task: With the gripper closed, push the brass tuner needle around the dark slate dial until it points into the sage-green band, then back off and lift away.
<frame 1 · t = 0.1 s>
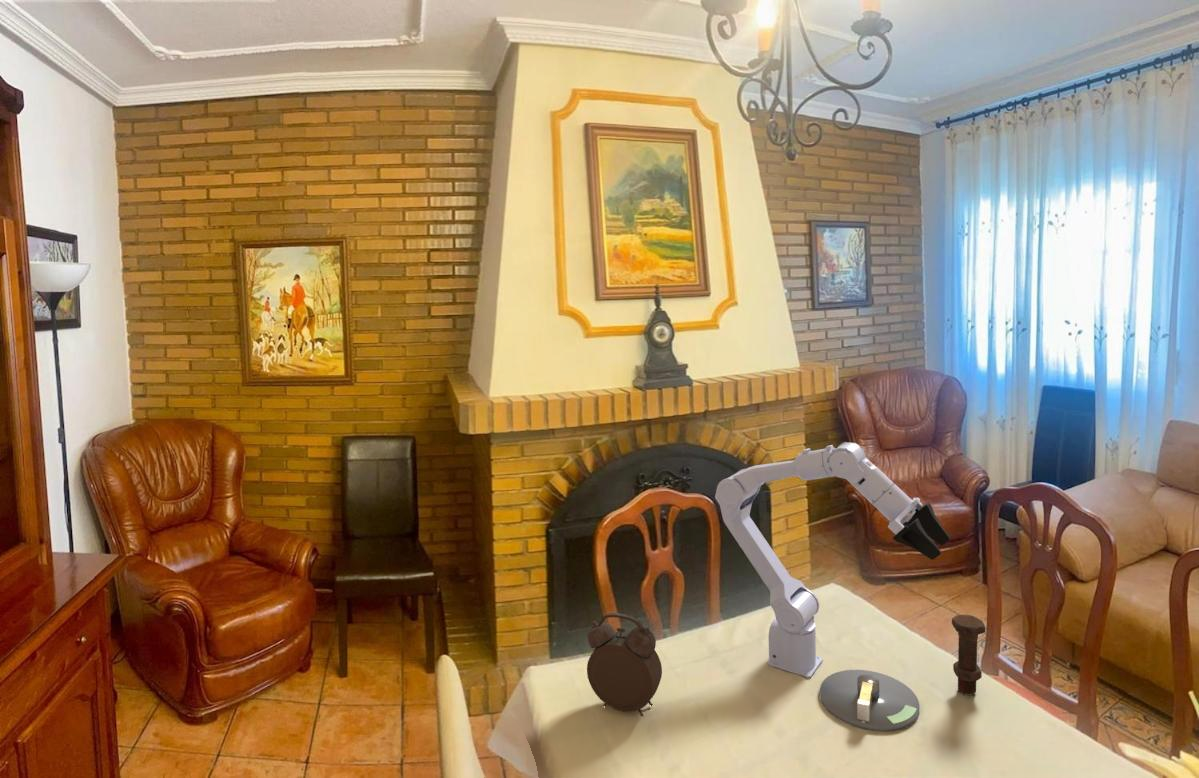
hand: (941, 549, 120), 32 cm above the table, tool tilted 50°, fingers open, 7 cm apart
alarm clock: (627, 707, 132), on the table
dial plate: (868, 700, 129), on the table
peg lever: (866, 696, 125), point 3 cm above the table, hinge at -80.0°
bolt: (966, 692, 130), on the table
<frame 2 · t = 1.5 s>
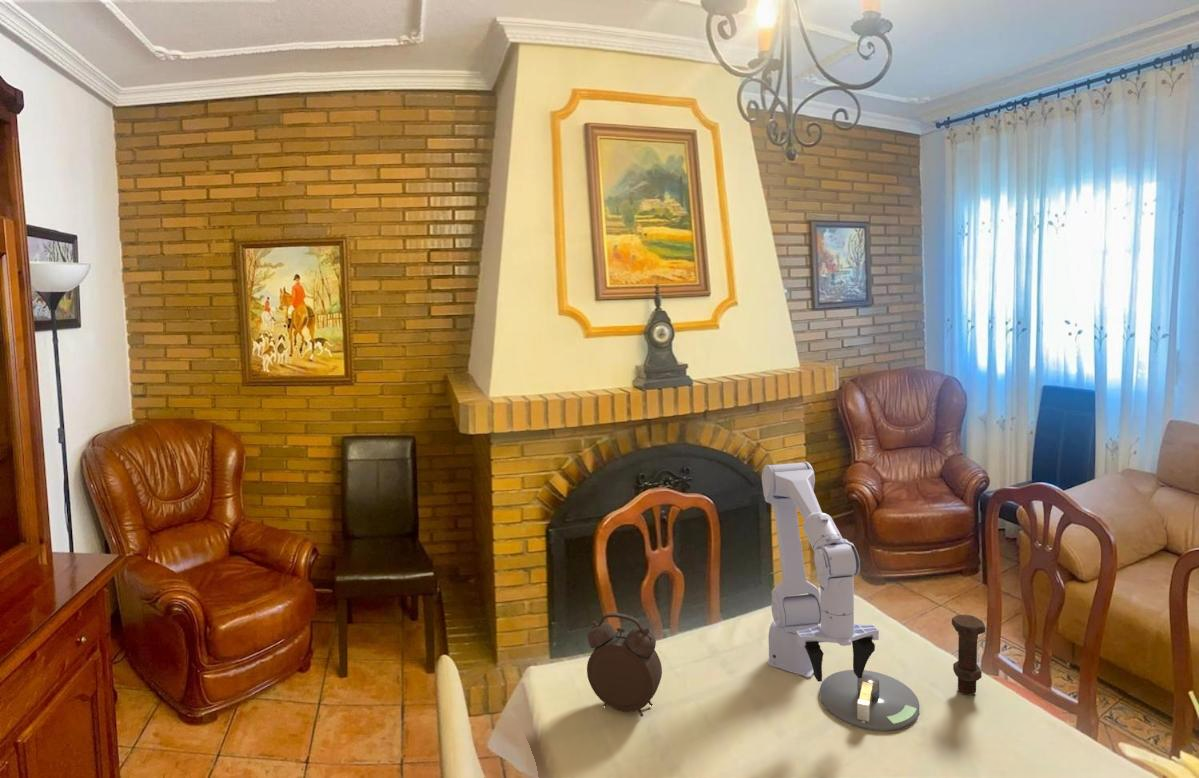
hand: (837, 676, 121), 9 cm above the table, tool pointing down, fingers open, 7 cm apart
nothing on the table moved.
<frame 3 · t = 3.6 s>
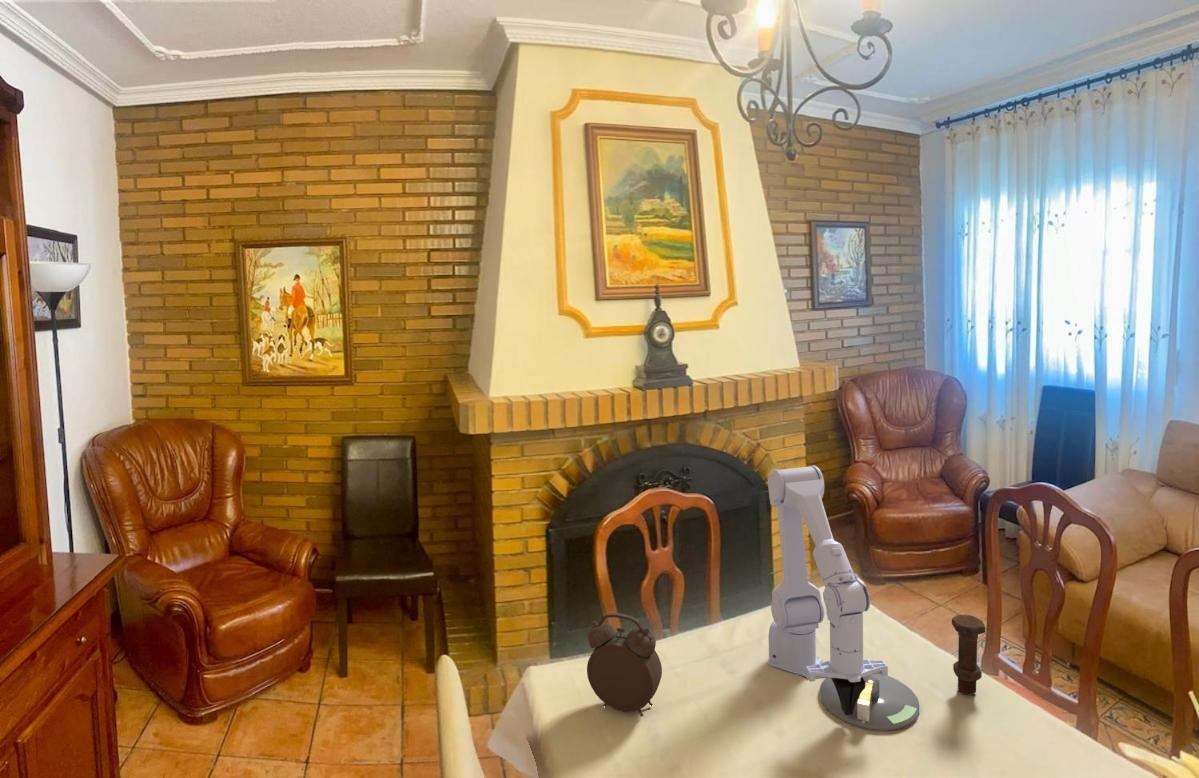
hand: (847, 711, 123), 2 cm above the table, tool pointing down, fingers closed
peg lever: (866, 696, 125), point 3 cm above the table, hinge at -80.0°, touching gripper
everything else where it was.
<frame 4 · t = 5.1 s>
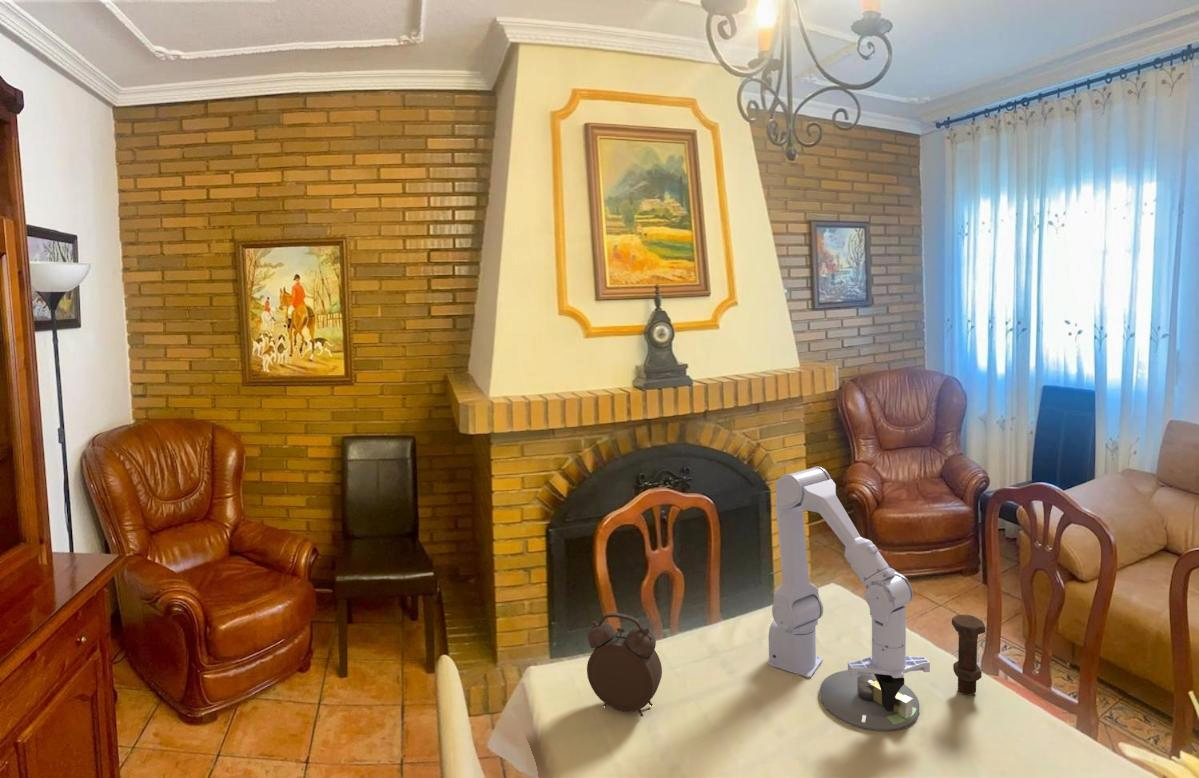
hand: (888, 708, 123), 2 cm above the table, tool pointing down, fingers closed, pressing on peg lever
peg lever: (883, 695, 125), point 3 cm above the table, hinge at -20.0°, touching gripper
everything else where it was.
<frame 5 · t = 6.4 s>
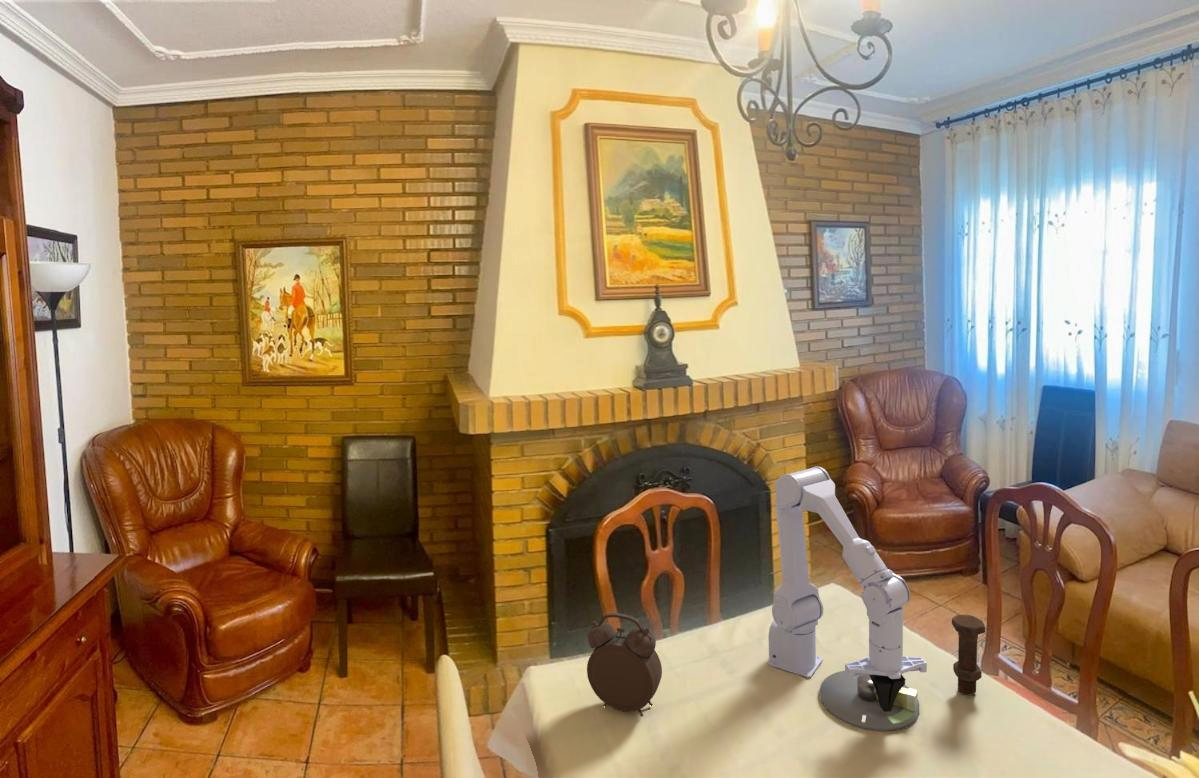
hand: (885, 708, 123), 2 cm above the table, tool pointing down, fingers closed
peg lever: (886, 692, 126), point 3 cm above the table, hinge at -0.2°
everything else where it was.
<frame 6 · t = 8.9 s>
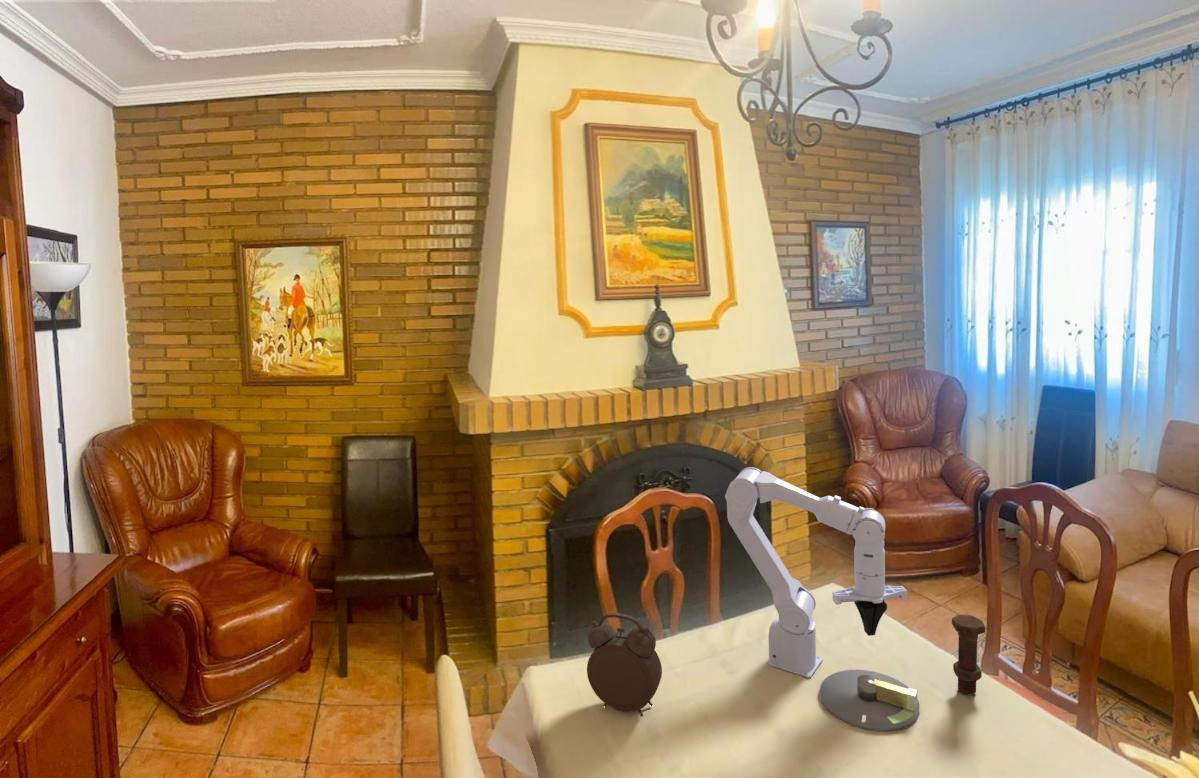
hand: (869, 633, 135), 10 cm above the table, tool pointing down, fingers closed
nothing on the table moved.
at the end: peg lever at +0° (first picture: -80°); peg lever touching nothing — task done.
